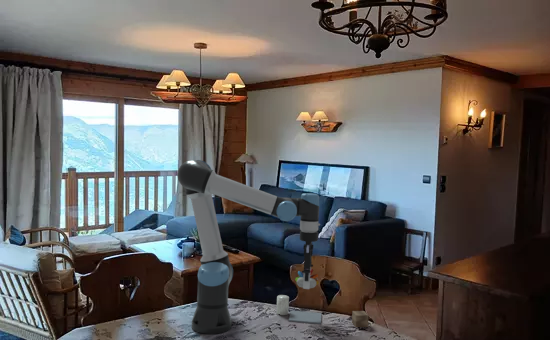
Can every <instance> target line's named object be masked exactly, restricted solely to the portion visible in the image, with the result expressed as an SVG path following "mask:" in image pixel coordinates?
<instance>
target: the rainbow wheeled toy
mask: <svg viewBox="0 0 550 340" xmlns="http://www.w3.org/2000/svg"><path fill="white" fill-rule="evenodd" d="M313 271H314V269H313V268H311V271H310V289H314V288H315V287H316V286H317V285H319V284H320V282H319V279H318V277H319V274H318V273H316V274H315V273H314V274H313ZM303 274H304V273H302V271H300V270H298V271H297V275H298V276H297V277H295V282H296V285H297V286H298V287H299V288H303Z"/></svg>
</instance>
